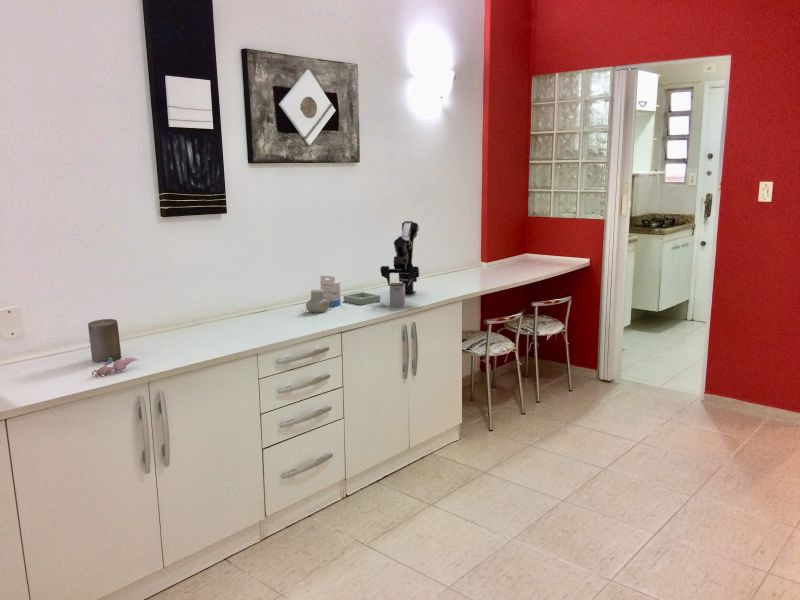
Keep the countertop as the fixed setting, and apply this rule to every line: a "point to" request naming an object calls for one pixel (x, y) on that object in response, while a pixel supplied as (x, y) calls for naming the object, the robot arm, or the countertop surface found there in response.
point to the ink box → (331, 290)
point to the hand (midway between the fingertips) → (398, 285)
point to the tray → (361, 298)
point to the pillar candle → (104, 340)
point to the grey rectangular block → (397, 294)
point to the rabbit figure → (117, 366)
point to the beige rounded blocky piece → (317, 302)
